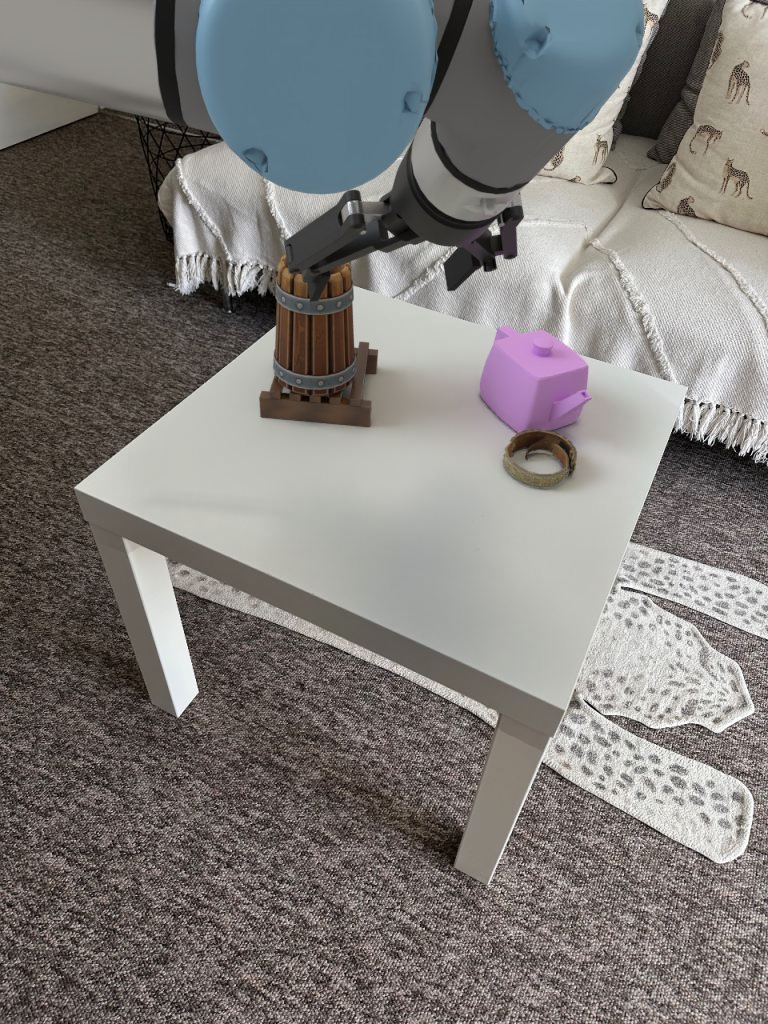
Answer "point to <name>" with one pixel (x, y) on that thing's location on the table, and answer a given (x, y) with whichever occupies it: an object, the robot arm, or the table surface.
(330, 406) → the drying rack
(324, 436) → the table surface
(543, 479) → the bracelet
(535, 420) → the teapot
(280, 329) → the mug
